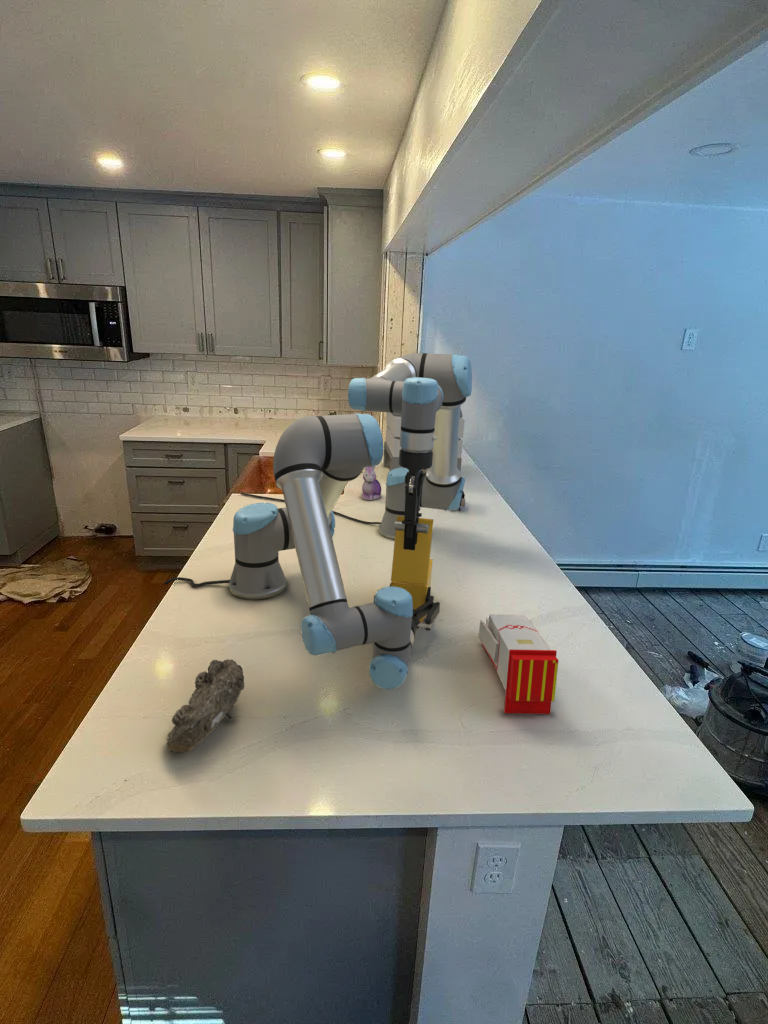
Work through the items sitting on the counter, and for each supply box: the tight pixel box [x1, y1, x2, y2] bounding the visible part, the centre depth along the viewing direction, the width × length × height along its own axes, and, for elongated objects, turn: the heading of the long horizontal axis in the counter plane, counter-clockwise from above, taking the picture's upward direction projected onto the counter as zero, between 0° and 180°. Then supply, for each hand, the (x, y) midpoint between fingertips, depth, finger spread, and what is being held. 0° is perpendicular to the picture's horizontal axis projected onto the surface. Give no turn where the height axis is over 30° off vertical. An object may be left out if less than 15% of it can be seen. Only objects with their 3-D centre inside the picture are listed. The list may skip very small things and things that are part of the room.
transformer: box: [383, 407, 465, 472], centre depth 268 cm, size 34×33×41 cm
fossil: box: [166, 658, 245, 754], centre depth 106 cm, size 22×10×15 cm
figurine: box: [361, 466, 382, 501], centre depth 234 cm, size 9×10×15 cm
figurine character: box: [457, 490, 466, 511], centre depth 229 cm, size 7×8×15 cm
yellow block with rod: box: [390, 516, 434, 585], centre depth 136 cm, size 16×9×9 cm
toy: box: [477, 613, 560, 715], centre depth 124 cm, size 12×13×30 cm
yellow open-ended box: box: [390, 558, 434, 621], centre depth 150 cm, size 16×9×10 cm, turn 170°
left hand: (410, 589), depth 146 cm, fingers closed on yellow open-ended box, 9 cm apart
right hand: (410, 545), depth 134 cm, fingers open, 3 cm apart
